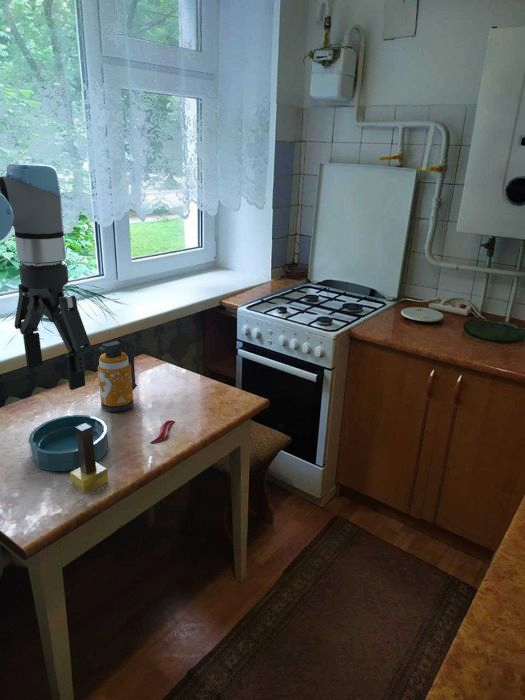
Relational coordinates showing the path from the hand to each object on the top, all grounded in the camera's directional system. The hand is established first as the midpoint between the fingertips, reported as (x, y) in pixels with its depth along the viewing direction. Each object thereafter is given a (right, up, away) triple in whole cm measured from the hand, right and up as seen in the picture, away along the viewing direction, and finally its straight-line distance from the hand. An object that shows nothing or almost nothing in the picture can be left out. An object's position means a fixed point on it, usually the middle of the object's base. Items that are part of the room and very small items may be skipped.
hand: (55, 376), depth 91 cm
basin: (-9, -20, +30) cm, 37 cm away
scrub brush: (0, -25, +19) cm, 31 cm away
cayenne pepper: (+12, -17, +40) cm, 45 cm away
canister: (-3, -11, +53) cm, 55 cm away
